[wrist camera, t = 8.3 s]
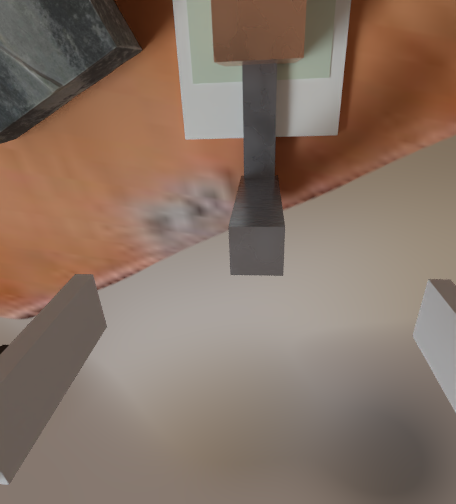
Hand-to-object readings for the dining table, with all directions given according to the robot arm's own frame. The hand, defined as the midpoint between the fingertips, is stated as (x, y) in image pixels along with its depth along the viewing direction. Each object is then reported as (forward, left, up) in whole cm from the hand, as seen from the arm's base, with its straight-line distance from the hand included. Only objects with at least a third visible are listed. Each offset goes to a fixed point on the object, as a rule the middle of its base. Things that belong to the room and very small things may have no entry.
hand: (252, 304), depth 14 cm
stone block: (-11, -17, -18) cm, 28 cm away
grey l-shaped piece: (-6, 0, -17) cm, 18 cm away
